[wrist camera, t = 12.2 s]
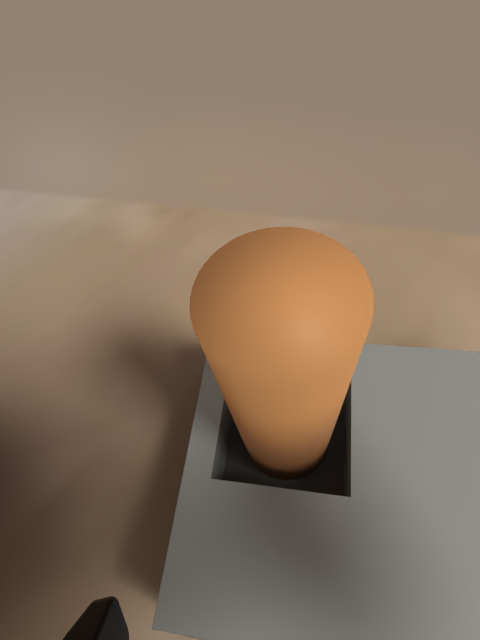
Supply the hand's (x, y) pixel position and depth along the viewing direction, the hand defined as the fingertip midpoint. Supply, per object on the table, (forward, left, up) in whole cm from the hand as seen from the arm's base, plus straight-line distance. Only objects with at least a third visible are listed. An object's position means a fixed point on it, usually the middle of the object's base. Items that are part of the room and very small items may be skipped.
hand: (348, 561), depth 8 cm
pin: (+5, +2, -11) cm, 12 cm away
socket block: (+3, -1, -12) cm, 13 cm away
